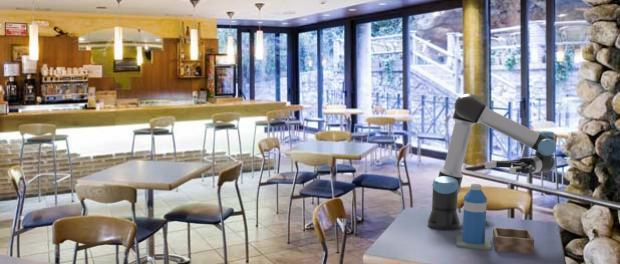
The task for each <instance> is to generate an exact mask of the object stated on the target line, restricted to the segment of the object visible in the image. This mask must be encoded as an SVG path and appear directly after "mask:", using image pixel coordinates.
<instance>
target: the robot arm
mask: <svg viewBox="0 0 620 264" xmlns="http://www.w3.org/2000/svg"><path fill="white" fill-rule="evenodd" d="M452 120H453V121H454V124H453V129H452V132H451V137H450V141H449V145H448V148H447V149H448V150H447V153H446V158H445V161H444V165H443V167H442V168H441V169H440V170H439V173H438V176H437V177H435V178H433V181H432V184H431V185H432V195H431V196H432V197H431V202H432V203H431V211H430V214H429V217H428V219H427V226H428V227H429V226H430V228H431V227H432V228H431V229H435V230H439V231H455V230H458V229H460V228H461V227H460V226H461V222H460V219H459V215H458V212H457V209H458V208H457V207H458V195H459V194H460V192H461V187H462V186H461V185H462V182H463V177H464V175H463V174H462V169H463V165H464V162H465V158H466V157H465V156H466V153H467V150H468V145H469V142H470V137H471V134H472V128H473V126H475V125H477V124H482V125H484V126H486V127H488V128H489V129H492V130H494V131H496V132H497V133H500V134H502V135H504V136H506V137H508V138H510V139H512V140H514V141H516V142H517V143H520V144H522V145H525V146H526V147H528V148H531V149H532V150H534V151H535V155H534V156H524V157H522V158H521V157H520V159H518V160H516V161H515V160H514V161H513V160H493V159H492V160H491V161H485V162H484V168H485V169H492V168H493V169H496V168H506V169H507V168H508V169H509V171H508V174H510V175H511V174H512V175H513V174H525V175H526V174H527V175H528V174H532V175H534V174H536V173H548V172H552V171H554V170H555V169H556V167H557V160H556V158H555V156H553V155H554V154H555V152H556V150H557V145H556V144H557V143H556V142H555V133H554V131H549V130H538V131H535V130H534V129H531V128H529V127H527V126H525V125H523V124H520V123H518V122H517V121H514V120H513V119H510V118H509V117H506V116H504V115H503V114H500V113H498V112H497V111H494V110H493V109H490V108H489V107H488V105H487V104H485V103H483V102H482V101H481V99H480V98H479V97H478V96H477V95H476V94H473V93H469V92H468V93H464V94H461V95H460V96H459V97H457V98H456V100H455V102H454V112H453V116H452Z"/></svg>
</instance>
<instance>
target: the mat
mask: <svg viewBox="0 0 620 264" xmlns="http://www.w3.org/2000/svg"><path fill="white" fill-rule="evenodd" d="M462 236H463V235H456V248H466V249H476V250H489V251H492V245H491V240H490V238H489V237H485V242H484V243H483V244H470V243H465V242H464V241H463V240H462Z"/></svg>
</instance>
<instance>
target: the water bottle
mask: <svg viewBox="0 0 620 264" xmlns="http://www.w3.org/2000/svg"><path fill="white" fill-rule="evenodd" d="M487 200H488V198H487V196H486V195H485V193H484V191H482V184H480V183H471V184H470V189H469V191H467V193H465V195H464V197H463V216H462V218H463V220H462V235H461V236H462V240H463V241H464V242H465V243H470V244H483V243H484V242H485V238H486V222H487V219H486V218H487V206H488V205H487V202H488V201H487Z"/></svg>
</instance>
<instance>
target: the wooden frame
mask: <svg viewBox="0 0 620 264" xmlns="http://www.w3.org/2000/svg"><path fill="white" fill-rule="evenodd" d="M492 244H493V247H494V252H506V253H516V254H529V255H534V251H535V239H534V237H533V235H532V233H531V231H530V230H529V229H520V228H509V227H498V226H497V227H496V226H493V227H492Z"/></svg>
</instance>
